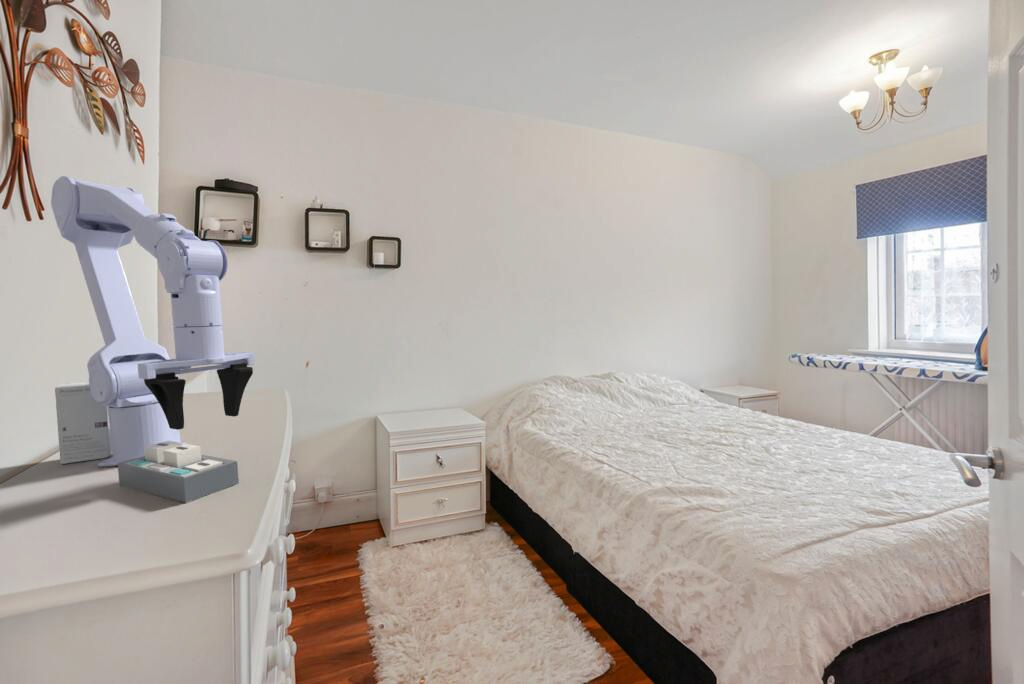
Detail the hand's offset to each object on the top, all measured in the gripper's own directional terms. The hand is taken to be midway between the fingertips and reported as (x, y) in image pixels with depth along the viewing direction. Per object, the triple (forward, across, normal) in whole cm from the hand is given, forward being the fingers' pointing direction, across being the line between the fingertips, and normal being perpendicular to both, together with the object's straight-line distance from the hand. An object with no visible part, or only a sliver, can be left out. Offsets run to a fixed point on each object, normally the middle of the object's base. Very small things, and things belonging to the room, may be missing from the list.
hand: (205, 421), depth 66 cm
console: (+7, -5, -1) cm, 9 cm away
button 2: (+6, -4, -6) cm, 10 cm away
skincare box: (+8, -3, +26) cm, 27 cm away
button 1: (+5, -4, +3) cm, 7 cm away
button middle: (+5, -4, -2) cm, 6 cm away
